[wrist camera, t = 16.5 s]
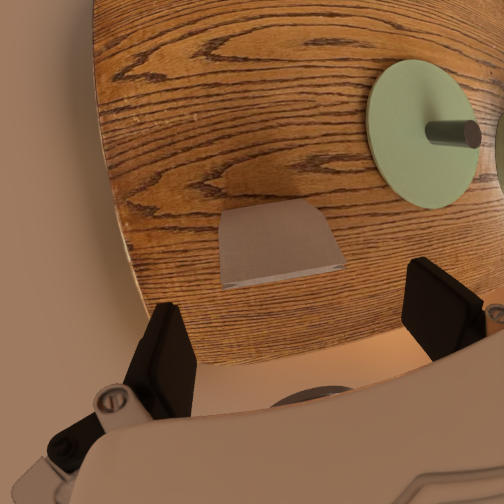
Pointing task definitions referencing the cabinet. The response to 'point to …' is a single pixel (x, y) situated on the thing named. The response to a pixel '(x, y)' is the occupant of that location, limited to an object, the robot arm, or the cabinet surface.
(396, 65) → the lid
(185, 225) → the cabinet surface
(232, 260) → the tea bag
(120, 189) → the cabinet surface
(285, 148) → the cabinet surface
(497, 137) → the pot
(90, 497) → the robot arm
